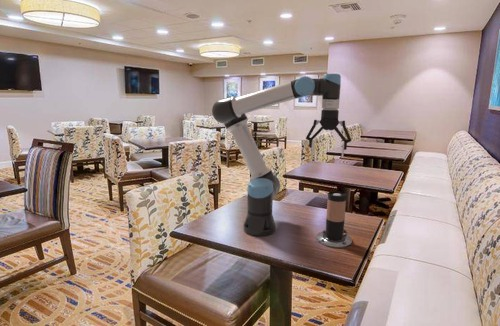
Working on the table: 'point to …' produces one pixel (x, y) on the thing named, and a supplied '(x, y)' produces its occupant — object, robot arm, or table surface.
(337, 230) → the travel mug
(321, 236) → the fitting
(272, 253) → the table surface
